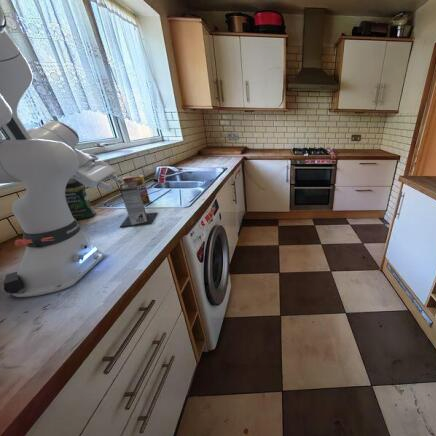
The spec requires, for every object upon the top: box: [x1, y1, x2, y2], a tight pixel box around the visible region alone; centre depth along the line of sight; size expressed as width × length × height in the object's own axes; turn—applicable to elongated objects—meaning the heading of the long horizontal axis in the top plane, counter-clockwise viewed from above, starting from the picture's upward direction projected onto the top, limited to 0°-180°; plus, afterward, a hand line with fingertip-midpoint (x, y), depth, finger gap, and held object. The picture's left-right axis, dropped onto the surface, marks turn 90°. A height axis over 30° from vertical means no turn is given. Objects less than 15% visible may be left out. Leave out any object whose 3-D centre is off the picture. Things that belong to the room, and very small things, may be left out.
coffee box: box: [119, 183, 148, 225], centre depth 100 cm, size 9×6×16 cm
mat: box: [119, 212, 158, 228], centre depth 105 cm, size 12×12×1 cm
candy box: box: [122, 174, 151, 205], centre depth 119 cm, size 9×4×15 cm, turn 123°
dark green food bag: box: [65, 177, 96, 220], centre depth 104 cm, size 10×8×19 cm
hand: (117, 186), depth 96 cm, fingers open, 8 cm apart
